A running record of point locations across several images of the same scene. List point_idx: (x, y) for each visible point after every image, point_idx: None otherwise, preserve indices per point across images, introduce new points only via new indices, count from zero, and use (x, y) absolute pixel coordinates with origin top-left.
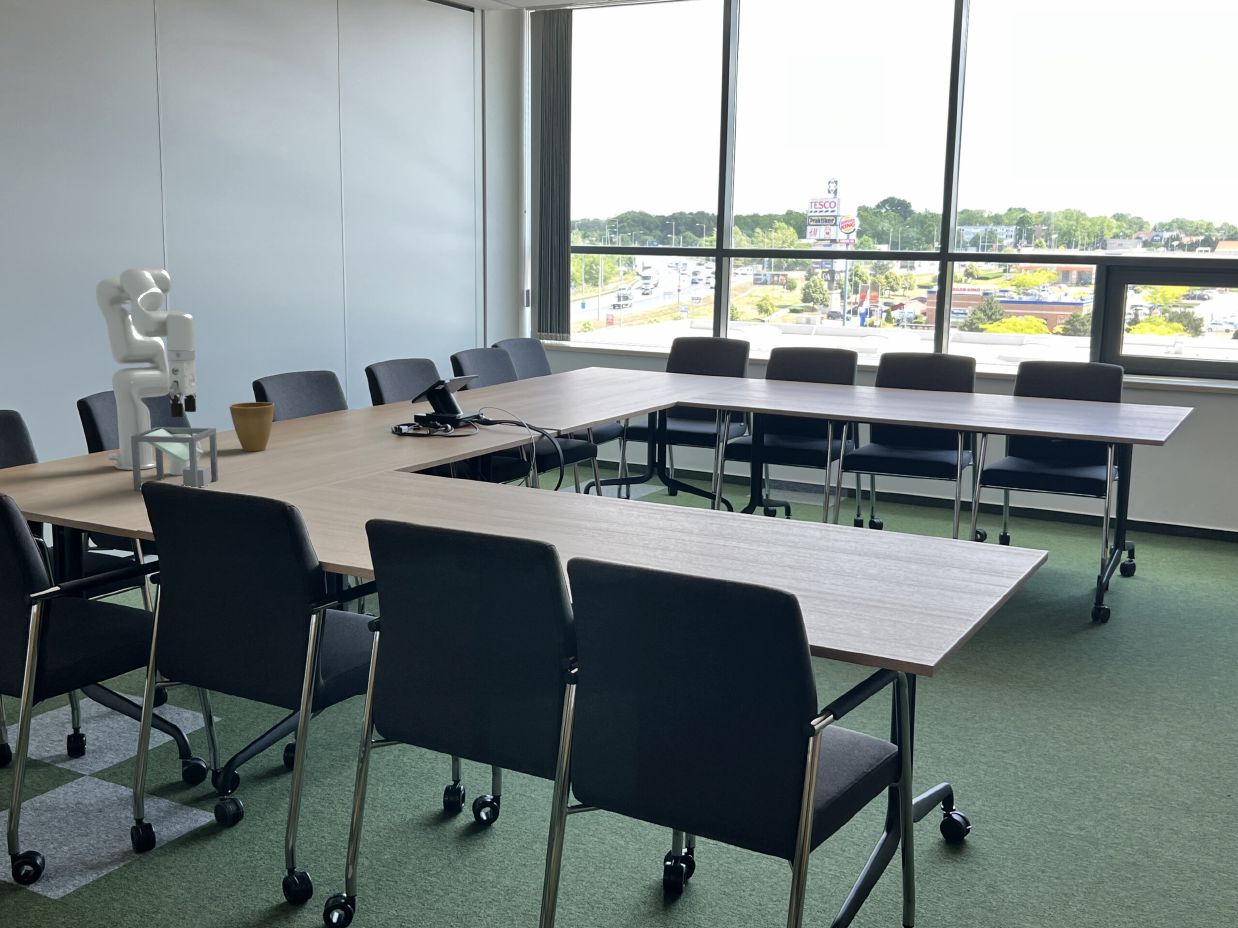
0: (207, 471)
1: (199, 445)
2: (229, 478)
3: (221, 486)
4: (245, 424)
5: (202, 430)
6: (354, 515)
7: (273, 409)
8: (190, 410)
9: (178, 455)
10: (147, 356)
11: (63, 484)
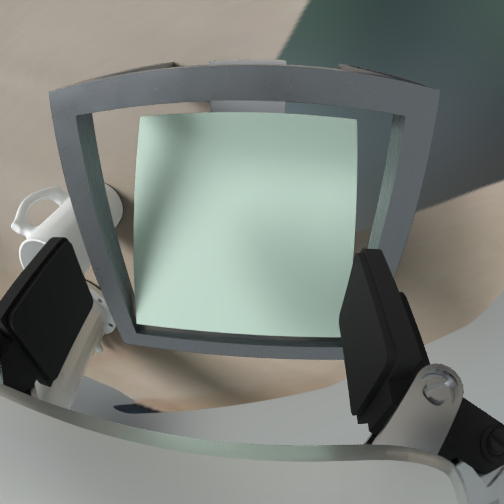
0: (240, 60)
1: (23, 204)
2: (125, 46)
3: (252, 16)
4: None
5: (87, 150)
6: None
7: None
8: (77, 274)
9: (347, 157)
10: None
11: (264, 358)
